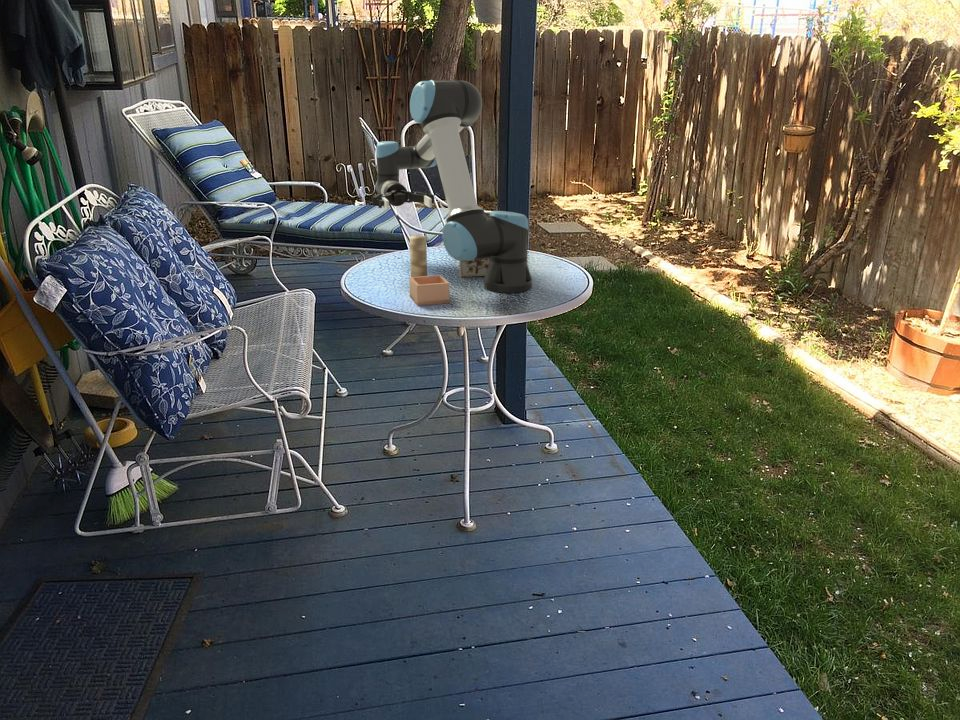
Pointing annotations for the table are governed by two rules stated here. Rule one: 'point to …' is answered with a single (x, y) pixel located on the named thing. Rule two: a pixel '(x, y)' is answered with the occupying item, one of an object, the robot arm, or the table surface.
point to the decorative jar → (474, 267)
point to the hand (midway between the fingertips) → (409, 204)
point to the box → (429, 290)
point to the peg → (418, 256)
